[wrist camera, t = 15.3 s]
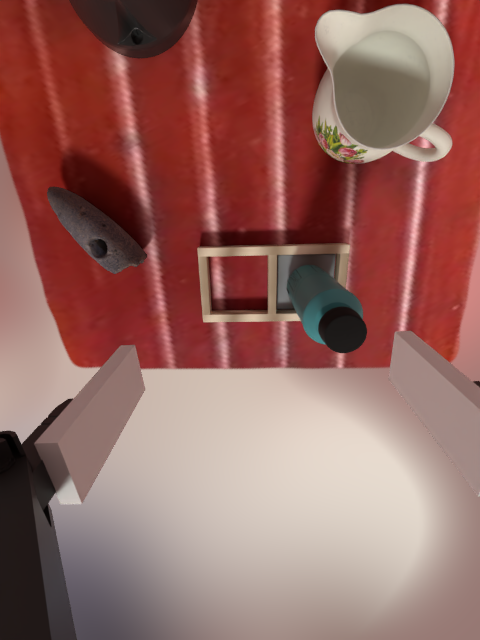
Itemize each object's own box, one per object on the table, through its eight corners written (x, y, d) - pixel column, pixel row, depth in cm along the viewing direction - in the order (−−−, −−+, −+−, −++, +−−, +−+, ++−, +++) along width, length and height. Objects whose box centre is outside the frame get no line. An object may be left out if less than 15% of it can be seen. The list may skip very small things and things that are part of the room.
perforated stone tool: (54, 201, 43) (19, 201, 36) (75, 174, 41) (43, 168, 35) (134, 276, 46) (115, 288, 40) (156, 253, 45) (140, 261, 39)
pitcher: (380, 203, 41) (438, 202, 29) (271, 129, 39) (281, 91, 26) (436, 123, 38) (531, 81, 25) (320, 36, 35) (360, -63, 22)
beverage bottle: (275, 279, 45) (293, 330, 26) (312, 251, 43) (359, 286, 25) (299, 311, 47) (332, 380, 28) (336, 286, 45) (396, 342, 27)
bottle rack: (205, 317, 48) (203, 322, 47) (199, 246, 44) (197, 248, 42) (338, 315, 48) (342, 320, 46) (345, 243, 43) (349, 244, 42)
